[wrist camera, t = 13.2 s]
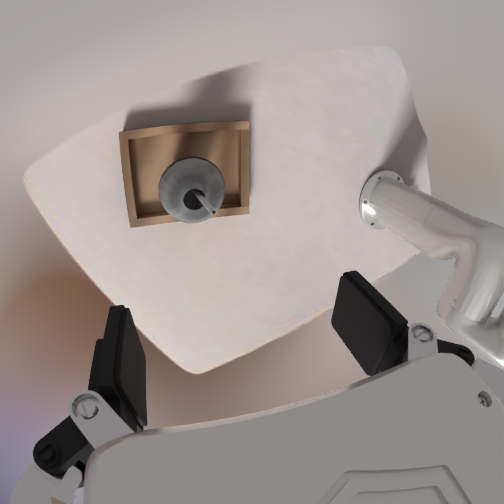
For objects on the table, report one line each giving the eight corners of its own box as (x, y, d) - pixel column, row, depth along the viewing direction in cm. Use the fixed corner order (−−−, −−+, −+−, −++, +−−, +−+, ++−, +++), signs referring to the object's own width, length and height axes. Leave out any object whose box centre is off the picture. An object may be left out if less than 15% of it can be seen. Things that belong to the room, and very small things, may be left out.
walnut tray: (243, 120, 39) (249, 121, 36) (244, 207, 45) (249, 213, 43) (122, 131, 34) (118, 132, 32) (132, 220, 41) (130, 227, 38)
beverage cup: (158, 152, 36) (144, 180, 19) (208, 142, 38) (238, 162, 21) (167, 199, 40) (164, 264, 23) (214, 190, 41) (248, 246, 24)
